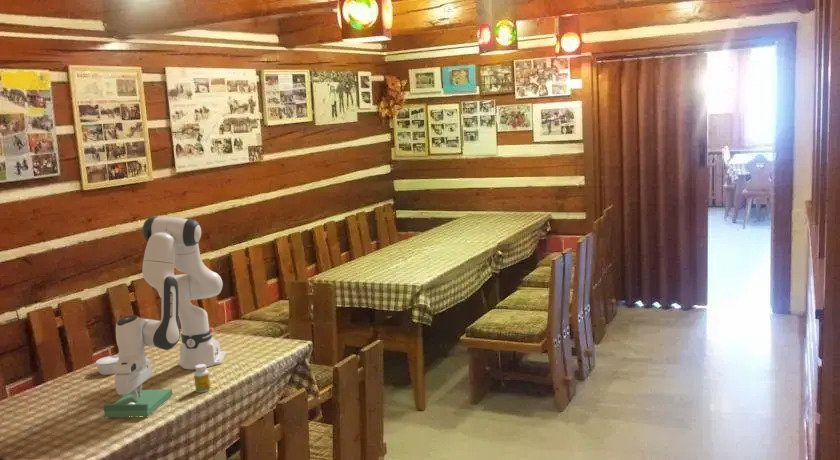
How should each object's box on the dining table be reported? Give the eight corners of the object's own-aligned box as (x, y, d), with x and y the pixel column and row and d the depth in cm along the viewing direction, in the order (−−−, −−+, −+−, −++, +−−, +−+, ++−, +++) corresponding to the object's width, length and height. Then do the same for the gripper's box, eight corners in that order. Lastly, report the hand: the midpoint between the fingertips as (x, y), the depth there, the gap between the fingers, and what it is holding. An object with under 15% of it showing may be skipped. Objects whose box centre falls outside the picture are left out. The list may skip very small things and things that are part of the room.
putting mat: (132, 396, 288) (130, 384, 288) (172, 395, 286) (171, 384, 286) (104, 417, 269) (103, 405, 268) (148, 417, 267) (146, 404, 266)
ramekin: (130, 366, 324) (129, 354, 324) (118, 375, 314) (116, 363, 313) (105, 367, 326) (104, 355, 325) (92, 376, 315) (90, 364, 314)
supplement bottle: (195, 393, 287) (193, 369, 285) (196, 388, 292) (193, 364, 290) (210, 391, 288) (207, 366, 287) (210, 386, 293) (207, 362, 292)
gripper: (138, 352, 284) (142, 387, 286) (110, 371, 264) (115, 408, 266) (154, 351, 283) (158, 387, 286) (127, 370, 263) (132, 408, 266)
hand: (137, 397), depth 276 cm, fingers closed
